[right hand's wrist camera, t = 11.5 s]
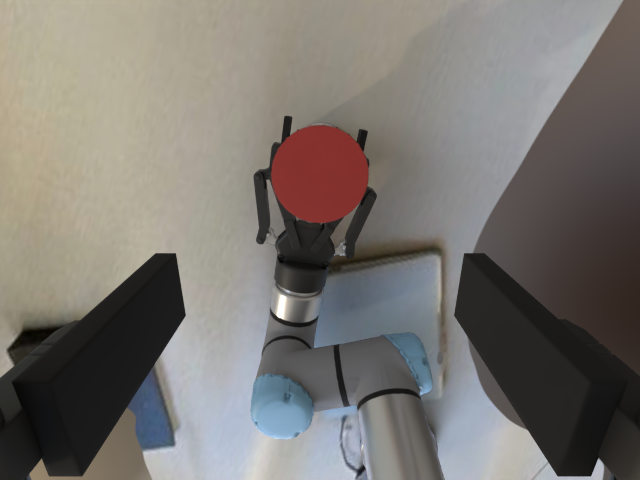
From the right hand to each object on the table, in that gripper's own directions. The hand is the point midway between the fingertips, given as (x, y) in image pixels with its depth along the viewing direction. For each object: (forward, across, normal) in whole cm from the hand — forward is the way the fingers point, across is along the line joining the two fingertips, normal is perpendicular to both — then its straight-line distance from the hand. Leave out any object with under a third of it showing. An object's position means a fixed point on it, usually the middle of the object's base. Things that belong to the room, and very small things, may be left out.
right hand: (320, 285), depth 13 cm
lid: (+23, 0, 0) cm, 23 cm away
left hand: (+34, -1, -4) cm, 34 cm away
